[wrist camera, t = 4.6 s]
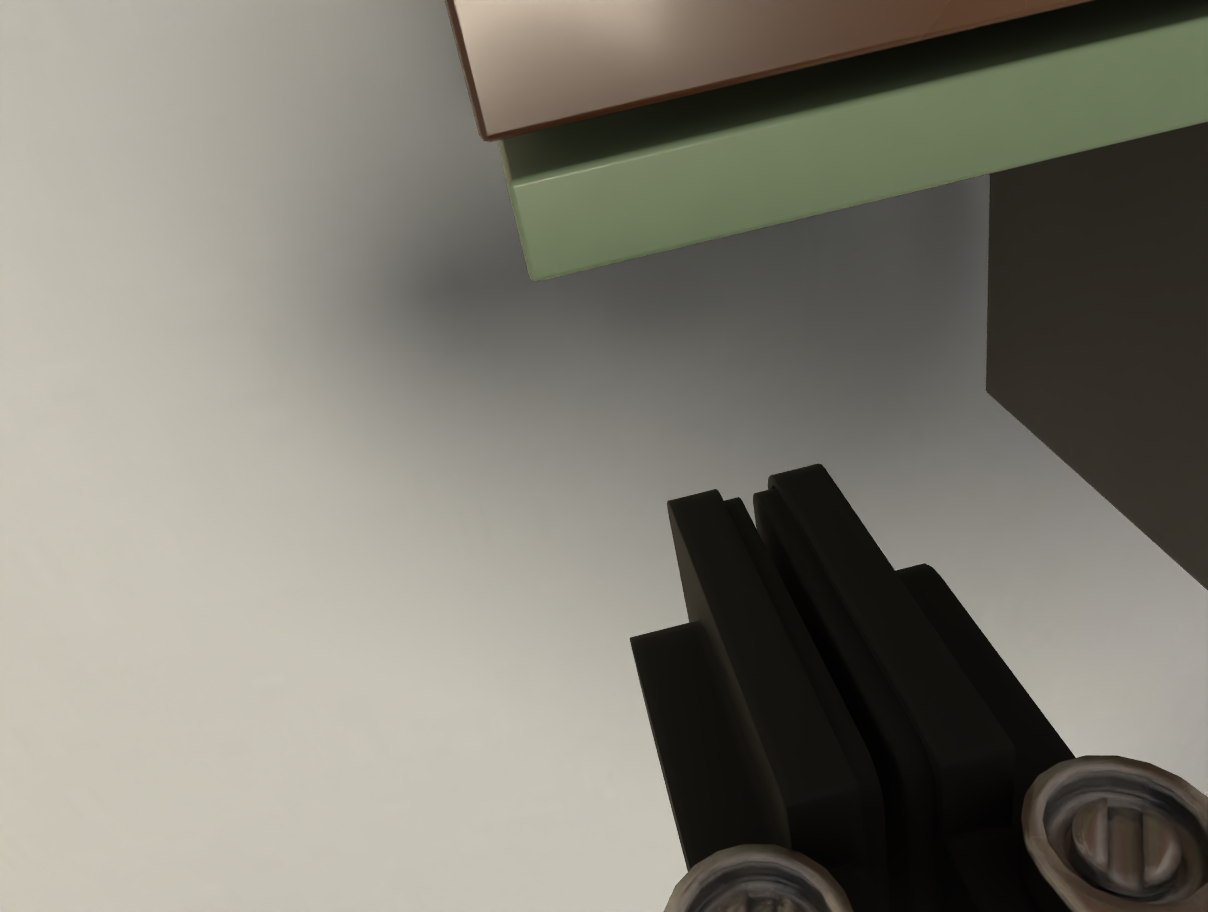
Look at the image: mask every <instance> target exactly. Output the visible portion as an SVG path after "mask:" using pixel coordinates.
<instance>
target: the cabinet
mask: <svg viewBox="0 0 1208 912" xmlns="http://www.w3.org/2000/svg"><path fill="white" fill-rule="evenodd" d="M1091 1H1096V0H445V3H446V6H447V10H448V14H449V18H450V22H451V26H452V30H453V34H454V38H455V42H456V46H457V50H458V53H459V57H460V61H461V65H462V69H463V73H464V77H465V81H466V85H467V89H468V93H469V97H470V100H471V104H472V108H473V112H474V116H475V120H476V124H477V128H478V132H479V135H480V137H481V138H482V139H483V141H487V142H494V141H498V140H502V139H506V138H511V137H515V136H519V135H523V134H528V133H532V132H536V131H541V130H545V129H549V128H553V127H558V126H562V125H566V124H570V123H575V122H579V121H583V120H588V119H592V118H596V117H600V116H605V115H609V114H613V113H617V112H622V111H626V110H630V109H634V108H639V107H643V106H647V105H652V104H656V103H660V102H664V101H669V100H673V99H677V98H681V97H686V96H690V95H694V94H699V93H703V92H707V91H711V90H716V89H720V88H724V87H728V86H733V85H737V84H741V83H746V82H750V81H754V80H758V79H763V78H767V77H771V76H775V75H780V74H784V73H788V72H792V71H797V70H801V69H805V68H810V67H814V66H818V65H822V64H827V63H831V62H835V61H839V60H844V59H848V58H852V57H857V56H861V55H865V54H869V53H874V52H878V51H882V50H886V49H891V48H895V47H899V46H904V45H908V44H912V43H916V42H921V41H925V40H929V39H933V38H938V37H942V36H946V35H951V34H955V33H959V32H963V31H968V30H972V29H976V28H980V27H985V26H989V25H993V24H997V23H1002V22H1006V21H1010V20H1015V19H1019V18H1023V17H1027V16H1032V15H1036V14H1040V13H1044V12H1049V11H1053V10H1057V9H1062V8H1066V7H1070V6H1074V5H1079V4H1083V3H1087V2H1091Z"/></svg>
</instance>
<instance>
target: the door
mask: <svg viewBox="0 0 1208 912" xmlns="http://www.w3.org/2000/svg"><path fill="white" fill-rule="evenodd" d="M497 142H498V147H499V152H500V156H501V161H502V165H503V170H504V175H505V179H506V184H507V189H508V193H509V197H510V201H511V205H512V209H513V213H514V217H515V221H516V225H517V229H518V233H519V237H520V241H521V245H522V249H523V253H524V257H525V261H526V265H527V269H528V273H529V277H530V278H531V279H532V280H533V281H541V280H545V279H550V278H554V277H558V276H562V275H566V274H571V273H575V272H579V271H583V270H587V269H592V268H596V267H600V266H604V265H608V264H613V263H617V262H621V261H625V260H629V259H634V258H638V257H642V256H646V255H650V254H655V253H659V252H663V251H667V250H671V249H676V248H680V247H684V246H688V245H692V244H697V243H701V242H705V241H709V240H713V239H718V238H722V237H726V236H730V235H734V234H739V233H743V232H747V231H751V230H755V229H760V228H764V227H768V226H772V225H776V224H781V223H785V222H789V221H793V220H797V219H802V218H806V217H810V216H814V215H818V214H823V213H827V212H831V211H835V210H839V209H844V208H848V207H852V206H856V205H860V204H865V203H869V202H873V201H877V200H881V199H886V198H890V197H894V196H898V195H902V194H907V193H911V192H915V191H919V190H923V189H928V188H932V187H936V186H940V185H944V184H949V183H953V182H957V181H961V180H965V179H970V178H974V177H978V176H982V175H986V174H990V196H989V251H988V306H987V362H986V391H987V393H988V394H990V395H991V396H992V397H993V398H994V399H995V400H996V401H997V402H998V403H1000V404H1001V405H1002V406H1003V407H1004V408H1005V409H1006V410H1007V411H1009V412H1010V413H1011V414H1012V415H1013V416H1014V417H1015V418H1016V419H1017V420H1019V421H1020V422H1021V423H1022V424H1023V425H1024V426H1025V427H1026V428H1027V429H1029V430H1030V431H1031V432H1032V433H1033V434H1034V435H1035V436H1036V437H1037V438H1039V439H1040V440H1041V441H1042V442H1043V443H1044V444H1045V445H1046V446H1047V447H1049V448H1050V449H1051V450H1052V451H1053V452H1054V453H1055V454H1056V455H1057V456H1059V457H1060V458H1061V459H1062V460H1063V461H1064V462H1065V463H1066V464H1068V465H1069V466H1070V467H1071V468H1072V469H1073V470H1074V471H1075V472H1076V473H1078V474H1079V475H1080V476H1081V477H1082V478H1083V479H1084V480H1085V481H1086V482H1088V483H1089V484H1090V485H1091V486H1092V487H1093V488H1094V489H1095V490H1096V491H1098V492H1099V493H1100V494H1101V495H1102V496H1103V497H1104V498H1105V499H1106V500H1108V501H1109V502H1110V503H1111V504H1112V505H1113V506H1114V507H1115V508H1116V509H1118V510H1119V511H1120V512H1121V513H1122V514H1123V515H1124V516H1125V517H1127V518H1128V519H1129V520H1130V521H1131V522H1132V523H1133V524H1134V525H1135V526H1137V527H1138V528H1139V529H1140V530H1141V531H1142V532H1143V533H1144V534H1145V535H1147V536H1148V537H1149V538H1150V539H1151V540H1152V541H1153V542H1154V543H1155V544H1157V545H1158V546H1159V547H1160V548H1161V549H1162V550H1163V551H1164V552H1165V553H1167V554H1168V555H1169V556H1170V557H1171V558H1172V559H1173V560H1174V561H1176V562H1177V563H1178V564H1179V565H1180V566H1181V567H1182V568H1183V569H1184V570H1186V571H1187V572H1188V573H1189V574H1190V575H1191V576H1192V577H1193V578H1194V579H1196V580H1197V581H1198V582H1199V583H1200V584H1201V585H1202V586H1203V587H1204V588H1206V589H1207V590H1208V0H1096V1H1091V2H1087V3H1083V4H1079V5H1074V6H1070V7H1066V8H1062V9H1057V10H1053V11H1049V12H1044V13H1040V14H1036V15H1032V16H1027V17H1023V18H1019V19H1015V20H1010V21H1006V22H1002V23H997V24H993V25H989V26H985V27H980V28H976V29H972V30H968V31H963V32H959V33H955V34H951V35H946V36H942V37H938V38H933V39H929V40H925V41H921V42H916V43H912V44H908V45H904V46H899V47H895V48H891V49H886V50H882V51H878V52H874V53H869V54H865V55H861V56H857V57H852V58H848V59H844V60H839V61H835V62H831V63H827V64H822V65H818V66H814V67H810V68H805V69H801V70H797V71H792V72H788V73H784V74H780V75H775V76H771V77H767V78H763V79H758V80H754V81H750V82H746V83H741V84H737V85H733V86H728V87H724V88H720V89H716V90H711V91H707V92H703V93H699V94H694V95H690V96H686V97H681V98H677V99H673V100H669V101H664V102H660V103H656V104H652V105H647V106H643V107H639V108H634V109H630V110H626V111H622V112H617V113H613V114H609V115H605V116H600V117H596V118H592V119H588V120H583V121H579V122H575V123H570V124H566V125H562V126H558V127H553V128H549V129H545V130H541V131H536V132H532V133H528V134H523V135H519V136H515V137H511V138H506V139H502V140H498V141H497Z"/></svg>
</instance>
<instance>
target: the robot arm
mask: <svg viewBox="0 0 1208 912" xmlns="http://www.w3.org/2000/svg"><path fill="white" fill-rule="evenodd" d="M753 505H754V513H755V520H756V527H755V525H754V523H753V521H752V519H751V517H750V515H749V513H748V511H747V509H746V507H745V505H744V504H743V502H742V500H741V498H739V497H738V498H734V499H730V500H726V501H723V499H722V497H721V495H720V493H719V491H718V490H717V489H714V490H710V491H706V492H702V493H698V494H694V495H690V496H686V497H682V498H678V499H674V500H670V501H668V502H667V506H668V513H669V519H670V524H671V529H672V535H673V540H674V545H675V550H676V555H677V561H678V566H679V571H680V576H681V581H682V586H683V592H684V597H685V602H686V607H687V612H688V618H689V623H686V624H682V625H679V626H675V627H671V628H667V629H663V630H659V631H655V632H651V633H647V634H643V635H639V636H635V637H631V638H630V642H631V647H632V651H633V655H634V659H635V663H636V668H637V672H638V676H639V680H640V684H641V688H642V692H643V697H644V701H645V705H646V709H647V713H648V717H649V721H650V725H651V729H652V733H653V737H654V741H655V745H656V749H657V753H658V757H659V761H660V765H661V769H662V773H663V777H664V780H665V784H666V788H667V792H668V796H669V800H670V804H671V808H672V812H673V815H674V819H675V823H676V827H677V831H678V835H679V839H680V843H681V847H682V851H683V854H684V858H685V862H686V866H687V870H688V873H687V874H686V875H685V876H684V877H683V878H682V879H681V880H680V882H679V883H678V884H677V885H676V886H675V888H674V890H673V892H672V895H671V897H670V899H669V901H668V903H667V906H666V908H665V910H664V912H1208V797H1207V796H1205V795H1204V794H1203V793H1201V792H1200V791H1199V790H1197V789H1196V788H1195V787H1193V786H1192V785H1190V784H1189V783H1188V782H1186V781H1185V780H1184V779H1182V778H1181V777H1179V776H1177V775H1175V774H1172V773H1170V772H1168V771H1166V770H1163V769H1161V768H1159V767H1157V766H1155V765H1152V764H1150V763H1147V762H1142V761H1138V760H1134V759H1129V758H1125V757H1120V756H1087V755H1086V756H1082V757H1078V758H1076V757H1075V756H1074V755H1073V753H1072V752H1071V751H1070V749H1069V748H1068V747H1067V745H1066V744H1065V743H1064V741H1063V740H1062V739H1061V737H1060V736H1059V735H1058V733H1057V732H1056V731H1055V729H1054V728H1053V727H1052V725H1051V724H1050V723H1049V721H1048V720H1047V719H1046V717H1045V716H1044V714H1043V713H1042V712H1041V710H1040V709H1039V708H1038V706H1037V705H1036V704H1035V702H1034V701H1033V700H1032V698H1031V697H1030V696H1029V694H1028V693H1027V692H1026V690H1025V689H1024V688H1023V686H1022V685H1021V684H1020V682H1019V681H1018V680H1017V678H1016V677H1015V676H1014V674H1013V673H1012V671H1011V670H1010V669H1009V667H1008V666H1007V665H1006V663H1005V662H1004V661H1003V659H1002V658H1001V657H1000V655H999V654H998V653H997V651H996V650H995V649H994V647H993V646H992V645H991V643H990V642H989V641H988V639H987V638H986V637H985V635H984V634H983V633H982V631H981V630H980V628H979V627H978V626H977V624H976V623H975V622H974V620H973V619H972V618H971V616H970V615H969V614H968V612H967V611H966V610H965V608H964V607H963V606H962V604H961V603H960V602H959V600H958V599H957V598H956V596H955V595H954V594H953V592H952V591H951V590H950V588H949V587H948V585H947V584H946V583H945V581H944V580H943V579H942V577H941V576H940V575H939V574H938V573H937V572H936V571H935V570H934V569H933V568H932V567H931V566H929V565H927V564H925V563H924V564H920V565H916V566H912V567H908V568H905V569H901V570H897V571H895V570H894V569H893V567H892V566H891V564H890V563H889V561H888V560H887V558H886V557H885V555H884V554H883V553H882V551H881V550H880V548H879V547H878V545H877V544H876V542H875V541H874V539H873V538H872V536H871V535H870V533H869V532H868V531H867V529H866V528H865V526H864V525H863V523H862V522H861V520H860V519H859V517H858V516H857V514H856V513H855V511H854V510H853V509H852V507H851V506H850V504H849V503H848V501H847V500H846V498H845V497H844V495H843V494H842V492H841V491H840V489H839V488H838V487H837V485H836V484H835V482H834V481H833V479H832V478H831V476H830V475H829V473H828V472H827V470H826V469H825V468H824V467H823V466H822V465H821V464H815V465H811V466H807V467H803V468H799V469H795V470H791V471H787V472H783V473H779V474H775V475H771V476H770V477H769V478H768V490H766V491H762V492H758V493H754V495H753ZM756 528H757V529H756Z"/></svg>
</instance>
